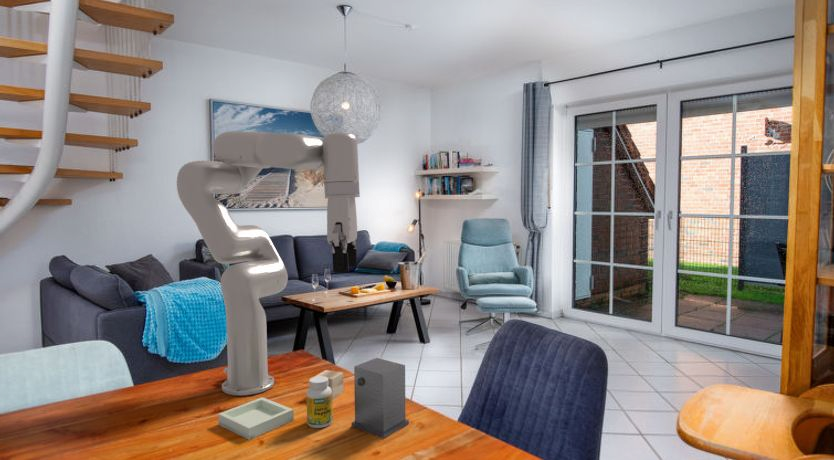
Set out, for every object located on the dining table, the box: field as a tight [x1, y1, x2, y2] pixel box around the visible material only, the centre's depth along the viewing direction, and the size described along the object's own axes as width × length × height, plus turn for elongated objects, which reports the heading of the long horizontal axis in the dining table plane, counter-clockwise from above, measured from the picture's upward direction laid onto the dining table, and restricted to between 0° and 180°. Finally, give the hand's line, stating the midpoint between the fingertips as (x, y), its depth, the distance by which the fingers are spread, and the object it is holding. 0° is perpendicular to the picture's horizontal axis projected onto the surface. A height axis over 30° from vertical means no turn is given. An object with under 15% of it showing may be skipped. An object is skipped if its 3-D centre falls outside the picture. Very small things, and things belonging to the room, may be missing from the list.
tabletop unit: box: [351, 357, 410, 439], centre depth 107 cm, size 9×8×13 cm
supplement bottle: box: [305, 376, 334, 429], centre depth 108 cm, size 5×5×10 cm
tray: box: [217, 396, 295, 441], centre depth 108 cm, size 11×11×2 cm
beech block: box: [314, 369, 344, 401], centre depth 124 cm, size 5×5×5 cm
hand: (345, 269), depth 111 cm, fingers open, 9 cm apart
